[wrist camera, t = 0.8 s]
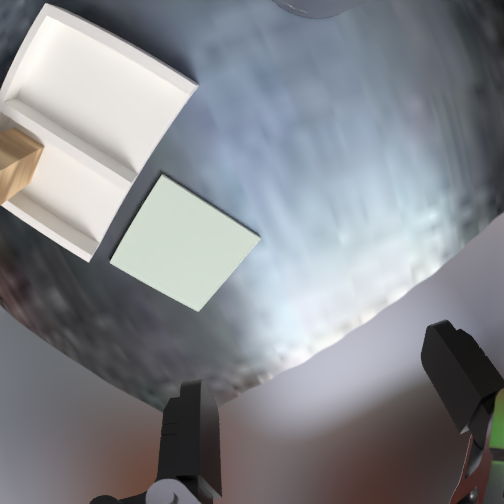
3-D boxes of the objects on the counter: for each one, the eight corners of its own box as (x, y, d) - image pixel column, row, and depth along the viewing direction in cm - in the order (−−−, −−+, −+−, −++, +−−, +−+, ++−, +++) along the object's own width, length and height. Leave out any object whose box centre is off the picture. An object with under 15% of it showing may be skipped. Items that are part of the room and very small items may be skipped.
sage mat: (162, 173, 30) (161, 175, 30) (260, 237, 34) (260, 238, 34) (110, 260, 34) (109, 262, 34) (198, 309, 39) (198, 311, 38)
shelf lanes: (62, 7, 20) (45, 2, 17) (199, 84, 26) (196, 85, 23) (-12, 172, 27) (-29, 183, 24) (98, 245, 33) (88, 262, 30)
